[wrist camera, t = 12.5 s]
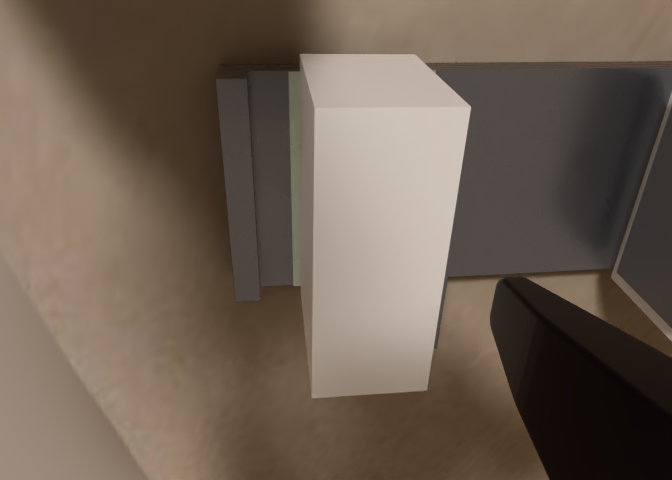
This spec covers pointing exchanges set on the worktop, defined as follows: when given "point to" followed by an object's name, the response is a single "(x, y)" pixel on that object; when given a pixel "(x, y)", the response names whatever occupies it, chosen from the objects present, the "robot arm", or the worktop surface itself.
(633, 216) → the block
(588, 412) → the robot arm
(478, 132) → the rail
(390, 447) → the worktop surface
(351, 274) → the white rectangular prism
